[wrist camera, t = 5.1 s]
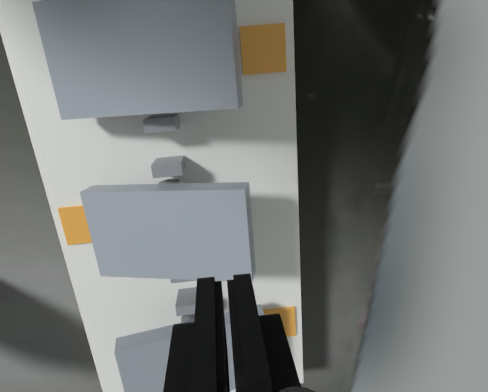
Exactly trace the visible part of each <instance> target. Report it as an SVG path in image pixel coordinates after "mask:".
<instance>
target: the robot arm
mask: <svg viewBox="0 0 488 392" xmlns="http://www.w3.org/2000/svg"><path fill="white" fill-rule="evenodd" d="M227 287H228V300H229V313H230V326H231V338H232V351H233V364H234V376H235V389H236V392H315V391H312V390H310V389H308V388H304V387H301V385H300V381H299V378H298V374H297V371H296V367H295V364H294V360H293V357H292V354H291V350H290V347H289V343H288V340H287V336H286V333H285V329H284V326H283V322H282V319H281V316H280V314H279V313H278V314H269V315H258V310H257V305H256V300H255V295H254V290H253V285H252V280H251V275H250V273H249V274H238V275H233V280H227ZM163 392H230V383H229V367H228V352H227V340H226V328H225V316H224V304H223V293H222V281H215V277H206V278H197V287H196V303H195V318H194V322H191V323H182V324H174V325H173V329H172V335H171V341H170V348H169V355H168V362H167V369H166V375H165V382H164V389H163Z"/></svg>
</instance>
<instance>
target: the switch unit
mask: <svg viewBox="0 0 488 392" xmlns="http://www.w3.org/2000/svg"><path fill="white" fill-rule="evenodd" d="M34 1H41V0H0V33H1V36H2V40H3V43H4V47H5V50H6V54H7V57H8V61H9V65H10V68H11V72H12V75H13V79H14V82H15V86H16V89H17V93H18V96H19V100H20V103H21V107H22V110H23V114H24V117H25V121H26V124H27V128H28V131H29V135H30V138H31V142H32V145H33V149H34V152H35V156H36V159H37V163H38V166H39V170H40V173H41V177H42V180H43V184H44V187H45V191H46V194H47V198H48V201H49V205H50V208H51V212H52V215H53V219H54V222H55V226H56V229H57V233H58V236H59V240H60V243H61V247H62V250H63V254H64V257H65V261H66V264H67V268H68V271H69V275H70V278H71V282H72V285H73V289H74V292H75V296H76V299H77V303H78V306H79V310H80V313H81V317H82V320H83V324H84V328H85V331H86V335H87V338H88V342H89V345H90V349H91V352H92V356H93V359H94V363H95V366H96V370H97V373H98V377H99V380H100V384H101V387H102V391H103V392H124V388H123V384H122V381H121V377H120V373H119V369H118V365H117V361H116V357H115V353H114V351H115V343H116V338H118V337H123V336H127V335H131V334H135V333H139V332H144V331H148V330H152V329H156V328H161V327H165V326H169V325H173V324H178V323H182V322H181V317H182V316H184V315H192V314H195V303H196V287H197V280H184V279H158V278H132V277H106V276H100V272H99V268H98V264H97V260H96V256H95V252H94V248H93V244H92V240H91V236H90V232H89V228H88V224H87V220H86V216H85V212H84V208H83V204H82V200H81V196H80V192H81V191H83V190H85V189H87V188H88V187H90V186H92V185H128V184H158V183H159V182H160V181H163V180H167V179H179V180H180V182H181V183H226V182H249V187H250V200H251V213H252V226H253V239H254V252H255V265H256V271H255V275H254V278H253V282H252V285H253V290H254V295H255V300H256V305H258V304H260V306H261V308H262V310H263V312H264V314H265V315H269V314H278V313H279V314H280V316H281V319H282V322H283V326H284V329H285V333H286V336H287V340H288V343H289V347H290V350H291V354H292V357H293V360H294V364H295V367H296V371H297V374H298V378H299V381H300V383H303V350H302V314H301V277H300V241H299V204H298V167H297V131H296V94H295V58H294V21H293V0H235V5H236V18H237V31H238V44H239V57H240V70H241V83H242V96H243V106H242V107H240V108H238V109H224V110H209V111H193V112H177V113H162V114H146V115H131V116H115V117H99V118H84V119H68V120H61V116H60V112H59V108H58V104H57V100H56V96H55V92H54V88H53V84H52V80H51V76H50V73H49V69H48V65H47V61H46V57H45V53H44V49H43V45H42V41H41V37H40V33H39V29H38V25H37V21H36V17H35V13H34V9H33V5H32V2H34ZM222 293H223V304H224V312H228V311H229V300H228V287H227V281H222ZM230 392H236V389H234V390H231V391H230Z"/></svg>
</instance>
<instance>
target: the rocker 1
mask: <svg viewBox="0 0 488 392" xmlns="http://www.w3.org/2000/svg"><path fill="white" fill-rule="evenodd" d="M32 5H33V9H34V13H35V17H36V21H37V25H38V29H39V33H40V37H41V41H42V45H43V49H44V53H45V57H46V61H47V65H48V69H49V73H50V76H51V80H52V84H53V88H54V92H55V96H56V100H57V104H58V108H59V112H60V116H61V120H68V119H84V118H99V117H115V116H131V115H146V114H162V113H177V112H193V111H209V110H224V109H238V108H240V107H242V106H243V96H242V83H241V70H240V57H239V44H238V31H237V18H236V5H235V0H41V1H34V2H32Z"/></svg>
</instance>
